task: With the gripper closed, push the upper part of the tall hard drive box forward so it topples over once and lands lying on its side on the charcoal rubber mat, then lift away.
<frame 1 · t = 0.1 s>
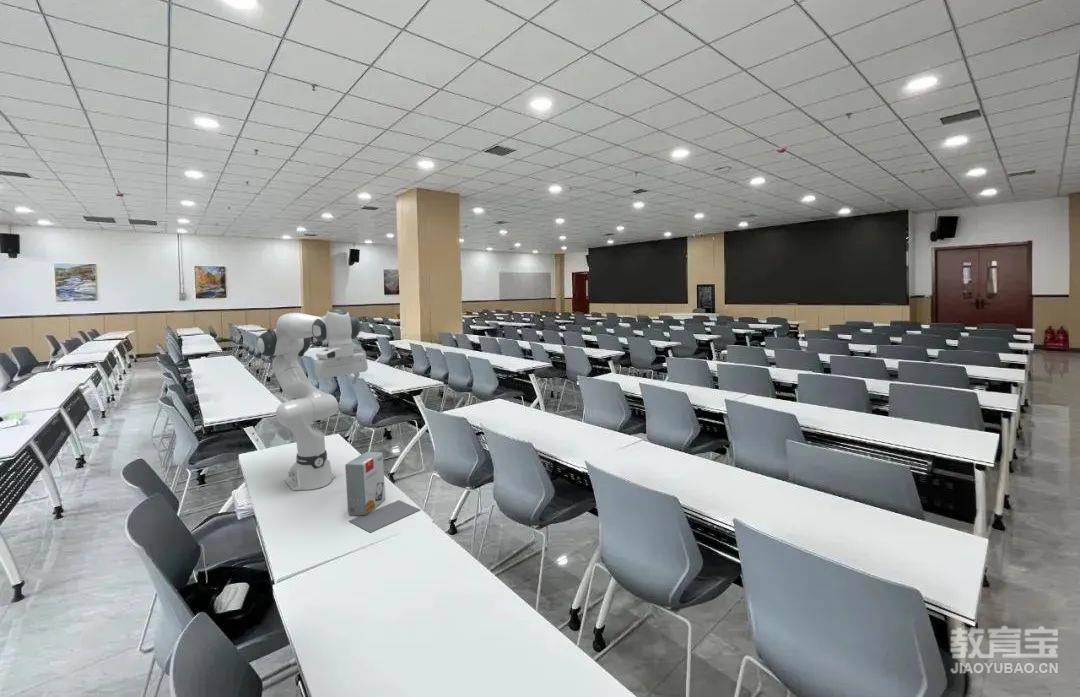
hand: (343, 386, 197), 48 cm above the table, tool pointing down, fingers open, 8 cm apart
hard drive box: (367, 507, 199), on the table, touching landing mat
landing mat: (385, 515, 192), on the table
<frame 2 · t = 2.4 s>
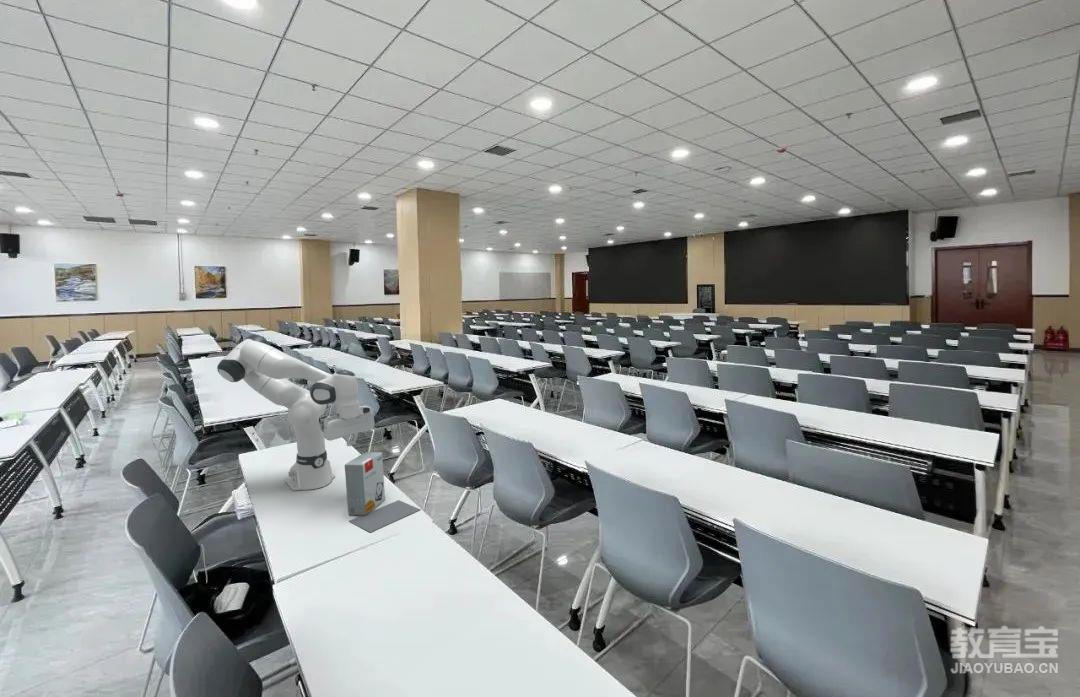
hand: (351, 445, 202), 24 cm above the table, tool pointing down, fingers closed
nothing on the table moved.
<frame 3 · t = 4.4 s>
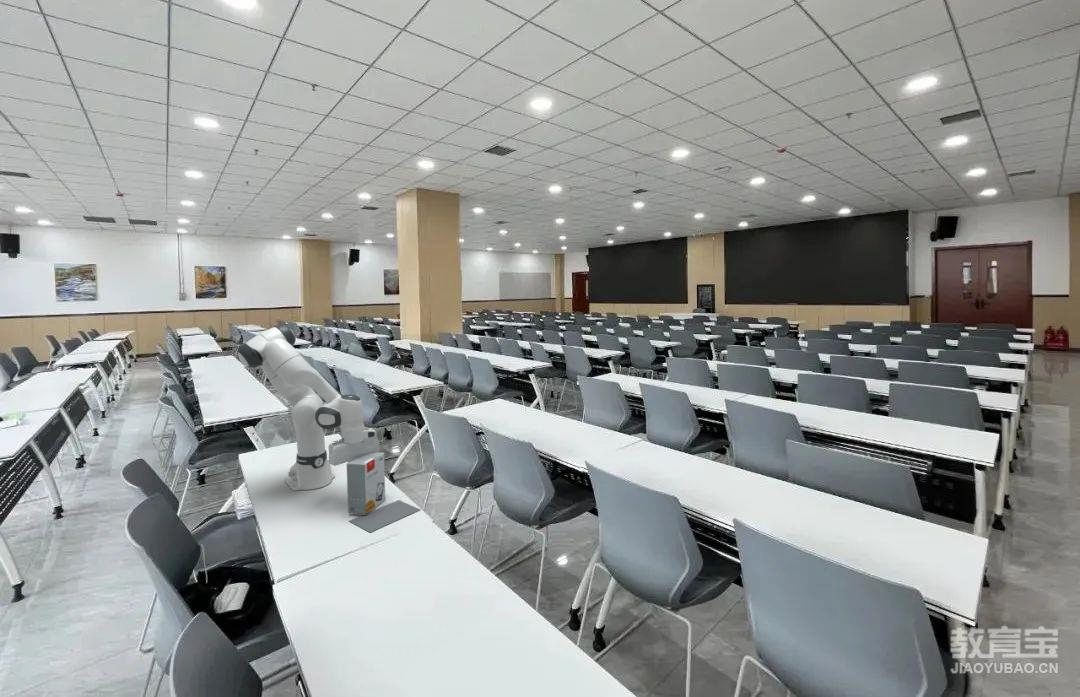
hand: (355, 469, 201), 14 cm above the table, tool pointing down, fingers closed
hard drive box: (367, 507, 199), on the table, touching gripper, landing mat
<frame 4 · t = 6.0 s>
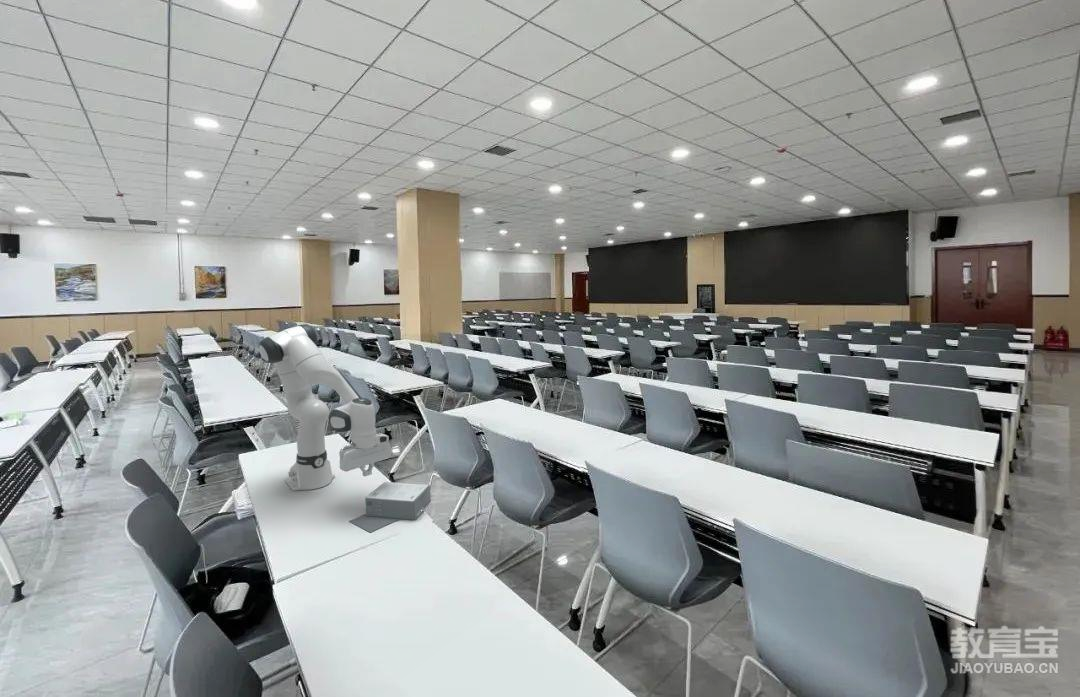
hand: (367, 475, 195), 14 cm above the table, tool pointing down, fingers closed
hard drive box: (374, 498, 198), point 4 cm above the table, touching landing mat
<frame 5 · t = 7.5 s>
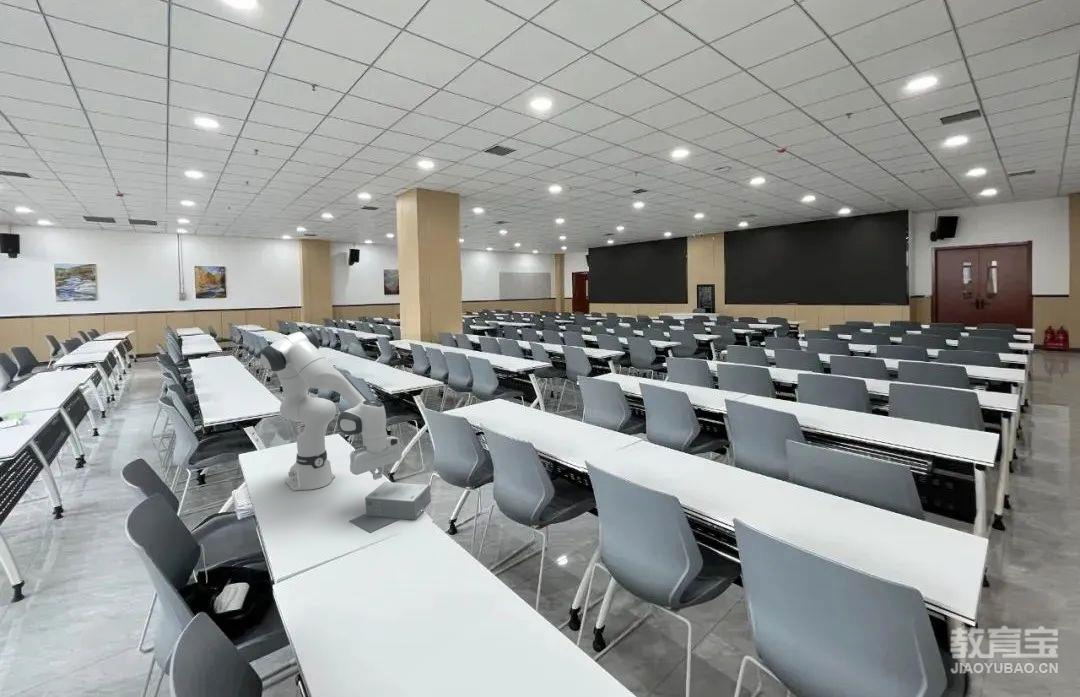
hand: (377, 478, 192), 14 cm above the table, tool pointing down, fingers closed
nothing on the table moved.
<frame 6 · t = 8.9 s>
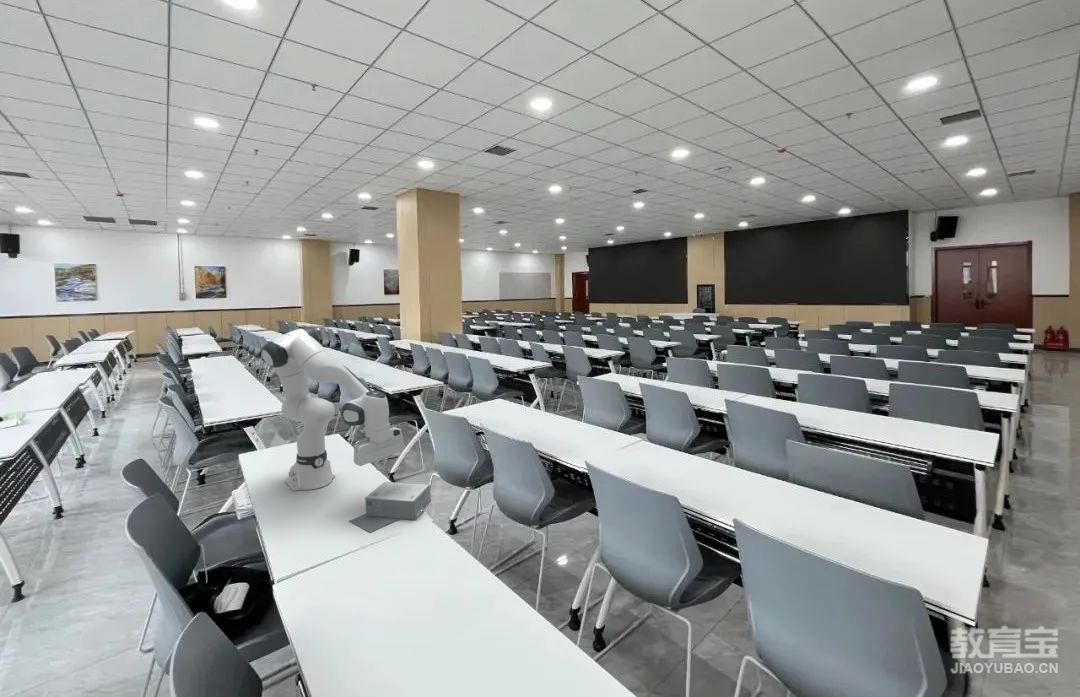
hand: (380, 469, 192), 17 cm above the table, tool pointing down, fingers closed
nothing on the table moved.
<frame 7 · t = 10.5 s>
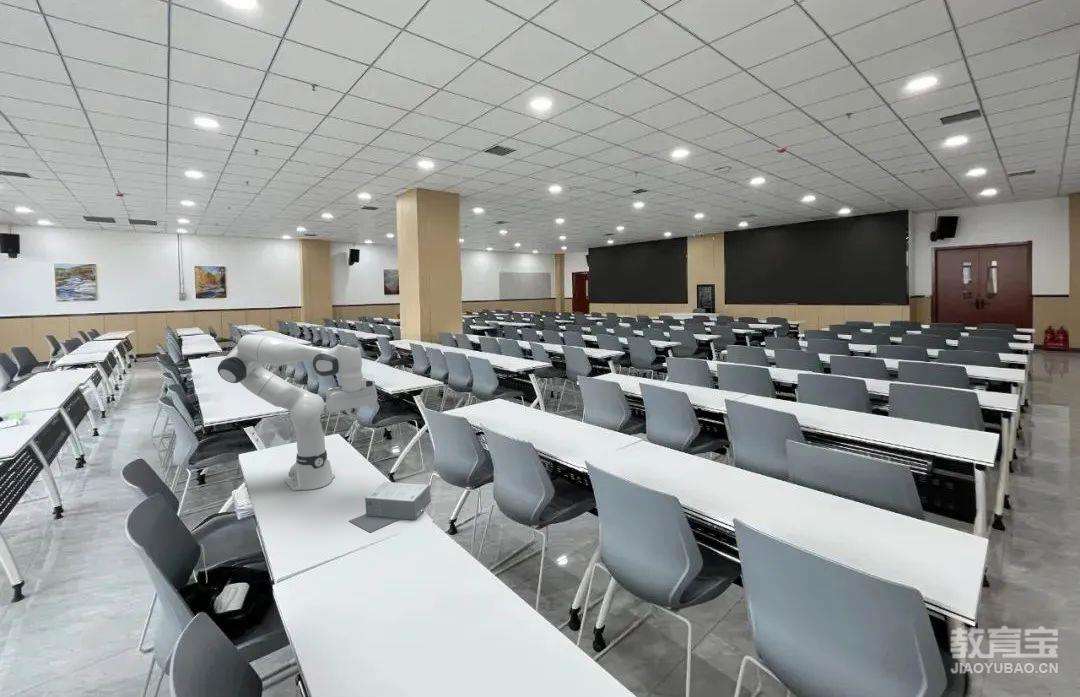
hand: (353, 418, 198), 35 cm above the table, tool pointing down, fingers closed
nothing on the table moved.
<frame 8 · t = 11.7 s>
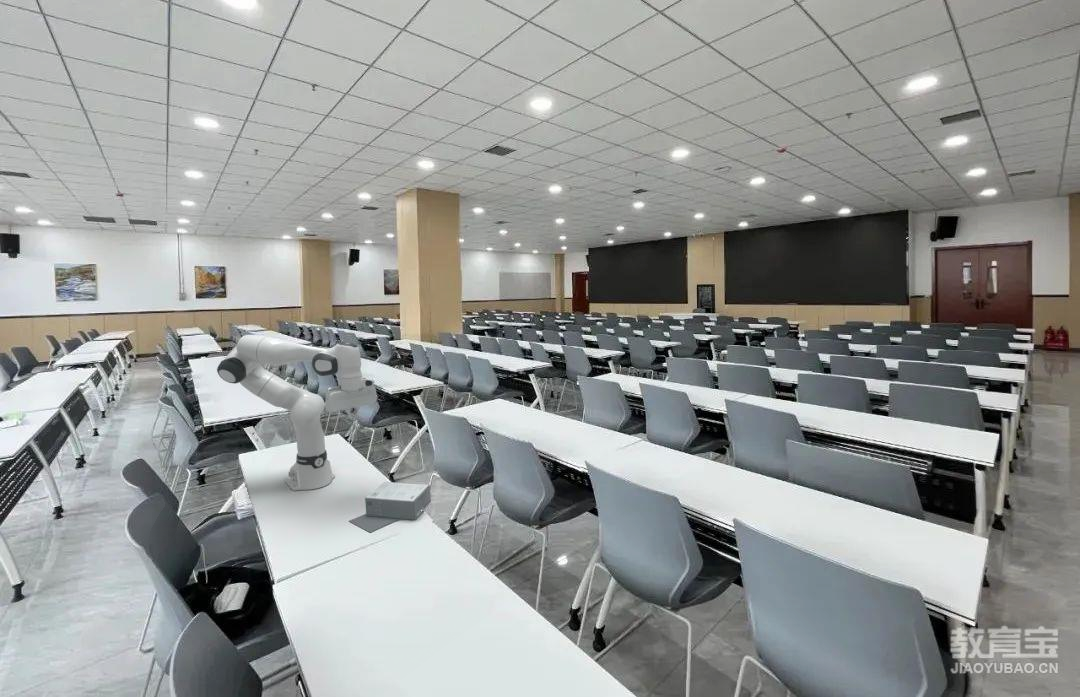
hand: (353, 418, 198), 35 cm above the table, tool pointing down, fingers closed
nothing on the table moved.
at the end: hard drive box tilted 90°; hard drive box inside the target area (6.6 cm from its centre), point 4.0 cm above the table; hard drive box touching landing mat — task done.
